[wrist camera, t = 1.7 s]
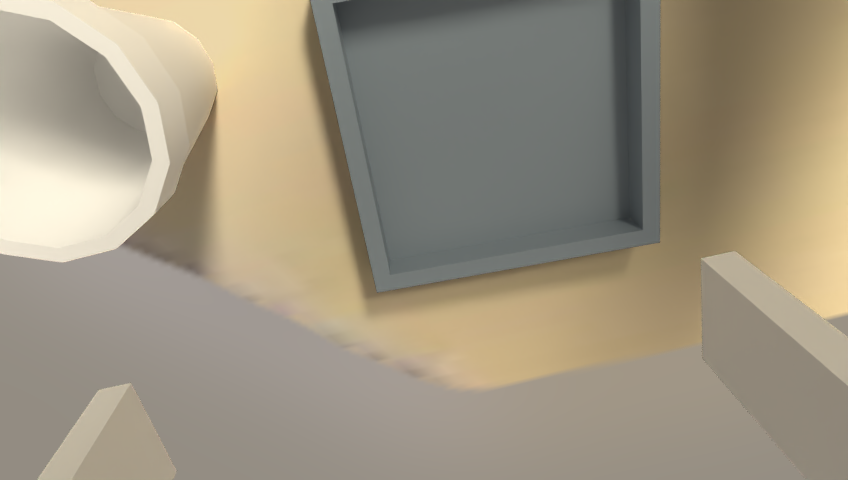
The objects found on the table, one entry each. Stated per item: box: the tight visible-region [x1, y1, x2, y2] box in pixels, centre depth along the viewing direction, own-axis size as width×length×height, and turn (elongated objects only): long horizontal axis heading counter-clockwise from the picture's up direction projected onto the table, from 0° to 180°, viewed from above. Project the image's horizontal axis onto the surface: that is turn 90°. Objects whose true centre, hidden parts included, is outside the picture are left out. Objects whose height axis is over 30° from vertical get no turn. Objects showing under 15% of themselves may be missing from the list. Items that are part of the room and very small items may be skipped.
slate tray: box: [310, 0, 660, 293], centre depth 33 cm, size 17×17×3 cm
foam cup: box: [0, 0, 218, 263], centre depth 26 cm, size 10×9×13 cm
